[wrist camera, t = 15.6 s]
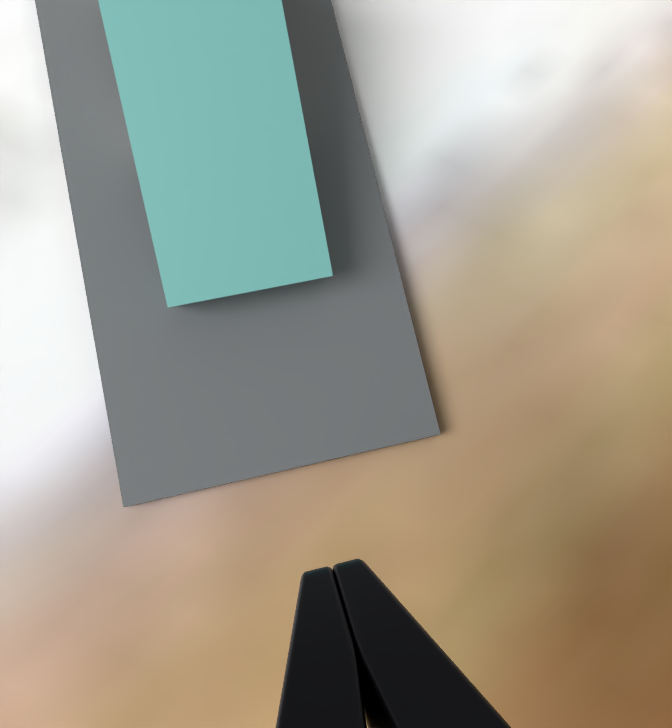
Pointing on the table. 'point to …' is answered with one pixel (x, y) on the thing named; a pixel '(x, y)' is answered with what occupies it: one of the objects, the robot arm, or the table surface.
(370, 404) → the mat
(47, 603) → the table surface
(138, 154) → the teal domino
